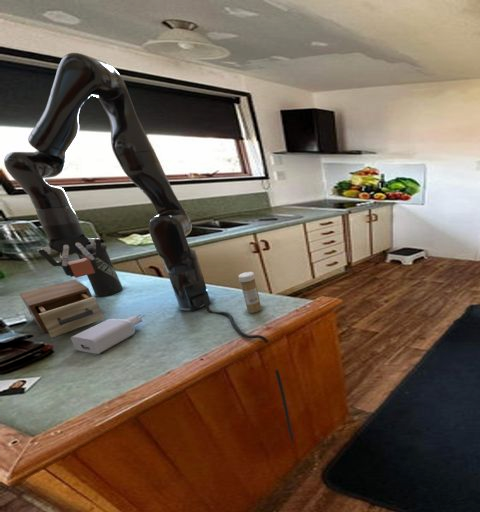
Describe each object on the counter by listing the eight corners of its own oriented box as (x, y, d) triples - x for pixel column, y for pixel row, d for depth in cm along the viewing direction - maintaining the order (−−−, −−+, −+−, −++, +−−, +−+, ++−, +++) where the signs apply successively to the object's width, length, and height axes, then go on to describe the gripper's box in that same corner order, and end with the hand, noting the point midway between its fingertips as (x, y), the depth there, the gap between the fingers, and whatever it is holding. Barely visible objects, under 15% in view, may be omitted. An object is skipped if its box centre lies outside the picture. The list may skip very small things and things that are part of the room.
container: (105, 297, 105) (84, 249, 98) (88, 296, 107) (66, 248, 100) (129, 287, 113) (111, 242, 106) (112, 286, 115) (93, 241, 108)
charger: (156, 323, 87) (100, 354, 73) (134, 320, 89) (76, 350, 75) (151, 310, 85) (93, 340, 71) (129, 307, 87) (69, 336, 74)
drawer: (109, 322, 87) (99, 300, 84) (55, 342, 77) (42, 319, 75) (91, 307, 96) (81, 287, 93) (41, 324, 87) (29, 302, 84)
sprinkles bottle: (262, 305, 95) (254, 270, 90) (261, 312, 91) (253, 275, 86) (247, 308, 93) (239, 272, 89) (246, 314, 89) (237, 277, 85)
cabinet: (100, 313, 94) (88, 288, 91) (44, 333, 84) (28, 305, 80) (86, 302, 102) (75, 279, 98) (33, 319, 92) (19, 293, 88)
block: (95, 272, 89) (89, 260, 88) (75, 277, 86) (69, 264, 84) (91, 270, 91) (85, 257, 90) (72, 275, 88) (66, 262, 86)
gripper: (25, 228, 75) (53, 284, 81) (96, 218, 86) (116, 267, 92) (21, 225, 79) (48, 279, 85) (89, 216, 90) (109, 264, 96)
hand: (83, 273), depth 88 cm, fingers closed on block, 4 cm apart
